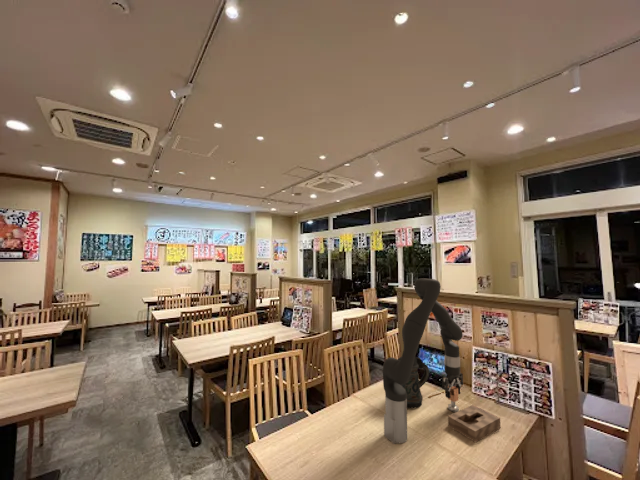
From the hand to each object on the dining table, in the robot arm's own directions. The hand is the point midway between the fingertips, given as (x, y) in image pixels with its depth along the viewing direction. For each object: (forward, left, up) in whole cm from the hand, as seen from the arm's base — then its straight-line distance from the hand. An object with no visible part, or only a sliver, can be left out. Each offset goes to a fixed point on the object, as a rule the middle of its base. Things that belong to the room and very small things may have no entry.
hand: (453, 395), depth 143 cm
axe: (+12, +15, -8) cm, 21 cm away
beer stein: (-13, +18, -7) cm, 23 cm away
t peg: (0, 0, -7) cm, 7 cm away
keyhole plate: (-5, -14, -7) cm, 16 cm away
